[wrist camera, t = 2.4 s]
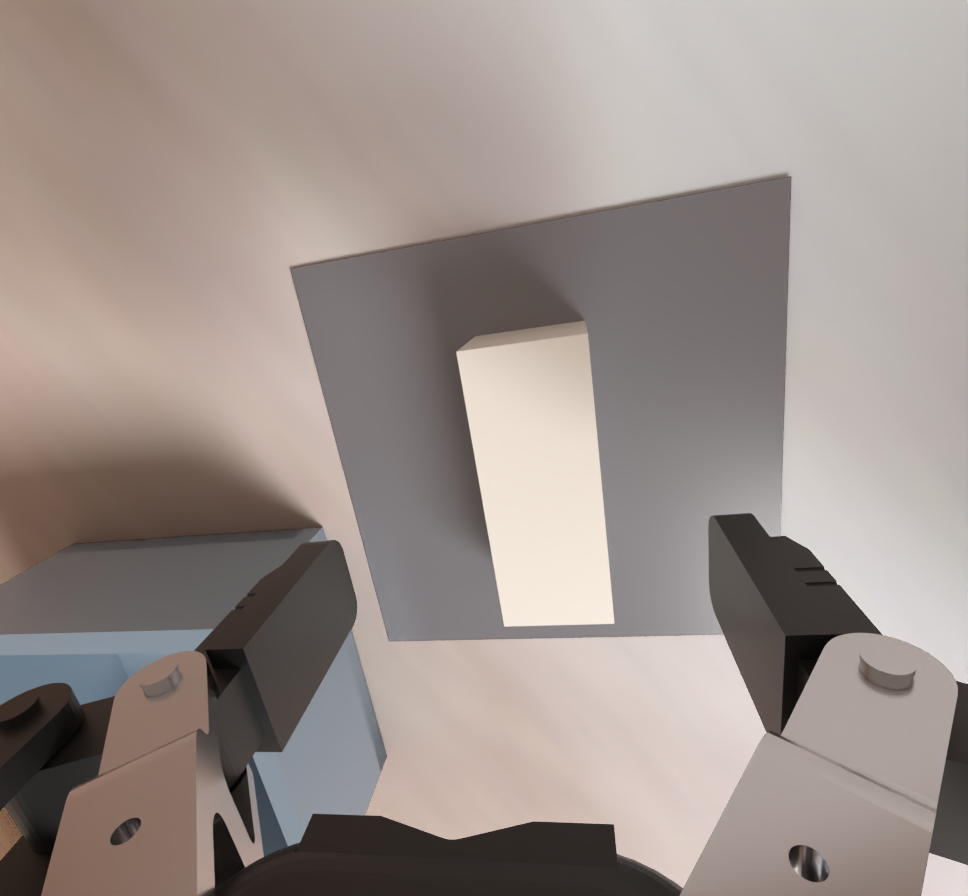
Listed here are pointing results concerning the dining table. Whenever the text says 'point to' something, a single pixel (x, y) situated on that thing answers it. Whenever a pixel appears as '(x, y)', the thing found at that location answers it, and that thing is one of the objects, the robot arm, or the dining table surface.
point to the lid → (559, 413)
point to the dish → (182, 627)
